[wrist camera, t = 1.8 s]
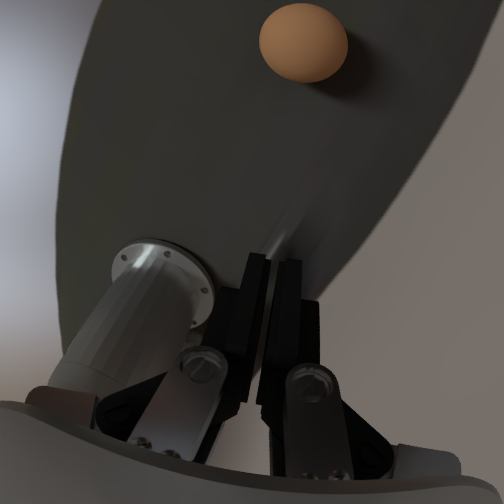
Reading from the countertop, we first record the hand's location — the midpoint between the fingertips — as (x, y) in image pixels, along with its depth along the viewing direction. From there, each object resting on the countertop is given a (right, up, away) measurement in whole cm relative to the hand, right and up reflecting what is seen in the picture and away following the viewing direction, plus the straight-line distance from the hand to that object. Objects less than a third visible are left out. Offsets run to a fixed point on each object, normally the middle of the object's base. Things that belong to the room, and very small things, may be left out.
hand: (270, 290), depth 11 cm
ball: (+3, +15, +6) cm, 17 cm away
